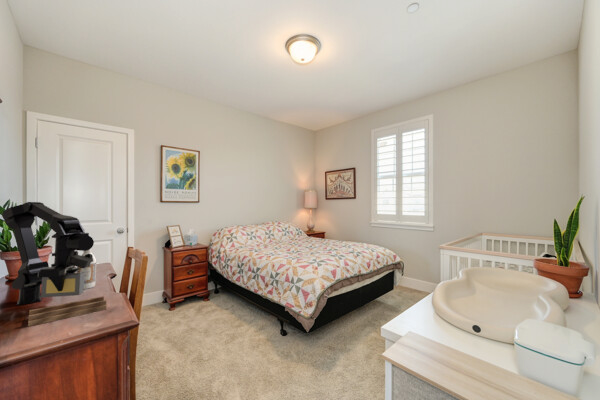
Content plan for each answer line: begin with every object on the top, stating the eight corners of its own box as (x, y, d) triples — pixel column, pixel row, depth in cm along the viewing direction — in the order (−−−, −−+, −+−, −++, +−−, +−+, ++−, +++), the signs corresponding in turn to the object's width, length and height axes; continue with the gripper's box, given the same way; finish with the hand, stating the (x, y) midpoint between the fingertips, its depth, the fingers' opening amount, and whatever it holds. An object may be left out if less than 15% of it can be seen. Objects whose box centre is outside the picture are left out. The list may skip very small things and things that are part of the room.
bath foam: (74, 290, 114) (76, 246, 114) (77, 286, 119) (79, 244, 120) (94, 288, 117) (96, 245, 118) (96, 284, 123) (97, 243, 124)
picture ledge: (28, 326, 79) (28, 317, 80) (29, 318, 85) (29, 309, 85) (106, 309, 94) (106, 301, 94) (102, 303, 99) (103, 295, 99)
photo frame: (40, 297, 94) (42, 276, 94) (46, 294, 97) (47, 274, 97) (79, 295, 97) (80, 274, 97) (83, 292, 100) (84, 272, 100)
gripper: (75, 253, 91) (73, 296, 90) (101, 245, 109) (99, 281, 108) (37, 254, 88) (35, 298, 87) (70, 246, 106) (68, 283, 105)
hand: (63, 289), depth 97 cm, fingers closed on photo frame, 3 cm apart
